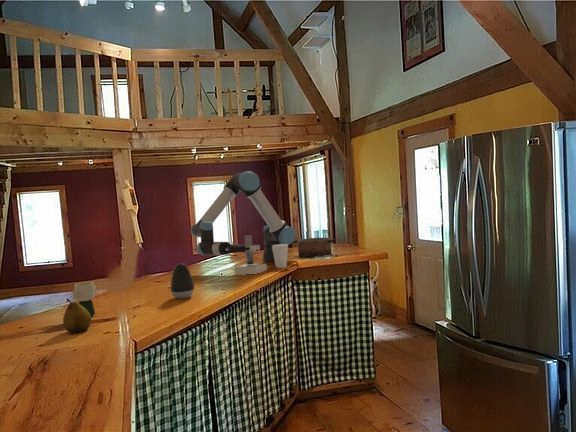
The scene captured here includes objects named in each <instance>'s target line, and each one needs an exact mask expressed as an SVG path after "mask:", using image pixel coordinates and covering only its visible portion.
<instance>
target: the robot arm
mask: <svg viewBox="0 0 576 432" xmlns="http://www.w3.org/2000/svg"><path fill="white" fill-rule="evenodd" d="M260 181H261V180H260V178H259V176H258V175H257V174H256V173H255V172H253V171H241V172H237V173H235V174H234V175H232V176H231V177H230V179H228V181H227V182H226V183H225V185H224V186H223V189H222V191H221V193H220V194H219V195H218V196H217V198H216V199H215V200H214V201H213V202H212V203H211V205H210V207H209V208H208V209H207V210H206V211H205V212H204V214H203V215H202V217H200V219H199V220H198V221H197V222H196V224H195V223H194V225H192V226H191V228H190V234H191V235H192V236H194V237H195V238H200V242H198V244H197V247H196V251H197V253H198V254H199V255H202V256H218V257H219V256H228V255H229V254H230V253H235V252H236V253H237V252H240V253H246V251H253V252H256V251H260V249H261V246H260V244H252V246H245V244H235V243H234V244H231V243H230V242H229V241H215V239H214V225H213V224H214V222H215V221H216V220H217V219H218V218H219V216H220V215H221V213H222V212H223V211H224V210H225V208H226V207H227V206H228V204H229V203H231V200H233V198H236V197H237V196H238V195H239V194H240V193H242V195H244V197H245V198H248V199H249V200H250V201H251V203H252V204H253V206H254V207H255V209H256V210H257V211H258V213H259V214H260V216H261V217H262V219H263V220H264V221H265V223H266V224H267V225H264V226H263V232H262V233H263V239H264V240H263V241H264V243H263V244H264V251H263V255H262V260H263V261H265V262H275V260H274V255H273V250H272V245H277V244H288V246H289V245H291V244H292V243H293V241H295V240H296V239H295V238H296V232H295V229H294V228H293V227H291V225H290V226H289V225H288V224H287V222H286V221H285V220H282V219H281V217H280V216H279V215H278V214H277V212H276V211H275V209H274V207H273V206H272V204H271V203H270V202H269V200H268V199H267V198H266V196H265V194H264V192H263V191H262V186H261V183H260Z"/></svg>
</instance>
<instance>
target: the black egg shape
mask: <svg viewBox="0 0 576 432" xmlns="http://www.w3.org/2000/svg"><path fill="white" fill-rule="evenodd" d="M170 279H171V280H170V292H171V294H172V296H173V297H174V298H175V299H177V300H183V299H187V298H189V297H192V295H193V293H194V290H195V284H194V280H193V277H192V274H191V271H190V269H189V268H188V266H187V265H186V264H184V263H178V264H175V266H174V268H173V272H172V274H171V278H170Z"/></svg>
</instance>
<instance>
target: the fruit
mask: <svg viewBox="0 0 576 432" xmlns="http://www.w3.org/2000/svg"><path fill="white" fill-rule="evenodd" d="M66 301H68V302H69V303H68V306H67V307H66V309H65V312H64V314H63V321H62V322H63V327H64V330H65V331H66V332H68V333H70V334H79V333H83V332H85V331H87V330H88V329H89V328H90V326H91V325H92V324H91V323H92V316H91V315H90V313H89V312H88V311H87V310H86V309H85V308H84V307H83V306H82V305H80V304H79V302H78V301H72V302H71V300H70V299H69V298H66Z"/></svg>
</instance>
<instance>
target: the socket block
mask: <svg viewBox="0 0 576 432" xmlns="http://www.w3.org/2000/svg"><path fill="white" fill-rule="evenodd" d="M267 268H268V267H267V263H254V264H251V265H247V264H246V263H245V264H242V265H239V266H236V267H234V274H235V275H234V276H247V275H246V274H257V273H260V272H263V271H265V272H267V271H268V269H267ZM266 270H267V271H266ZM263 273H264V272H263ZM260 274H261V273H260ZM257 275H258V274H257Z"/></svg>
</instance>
